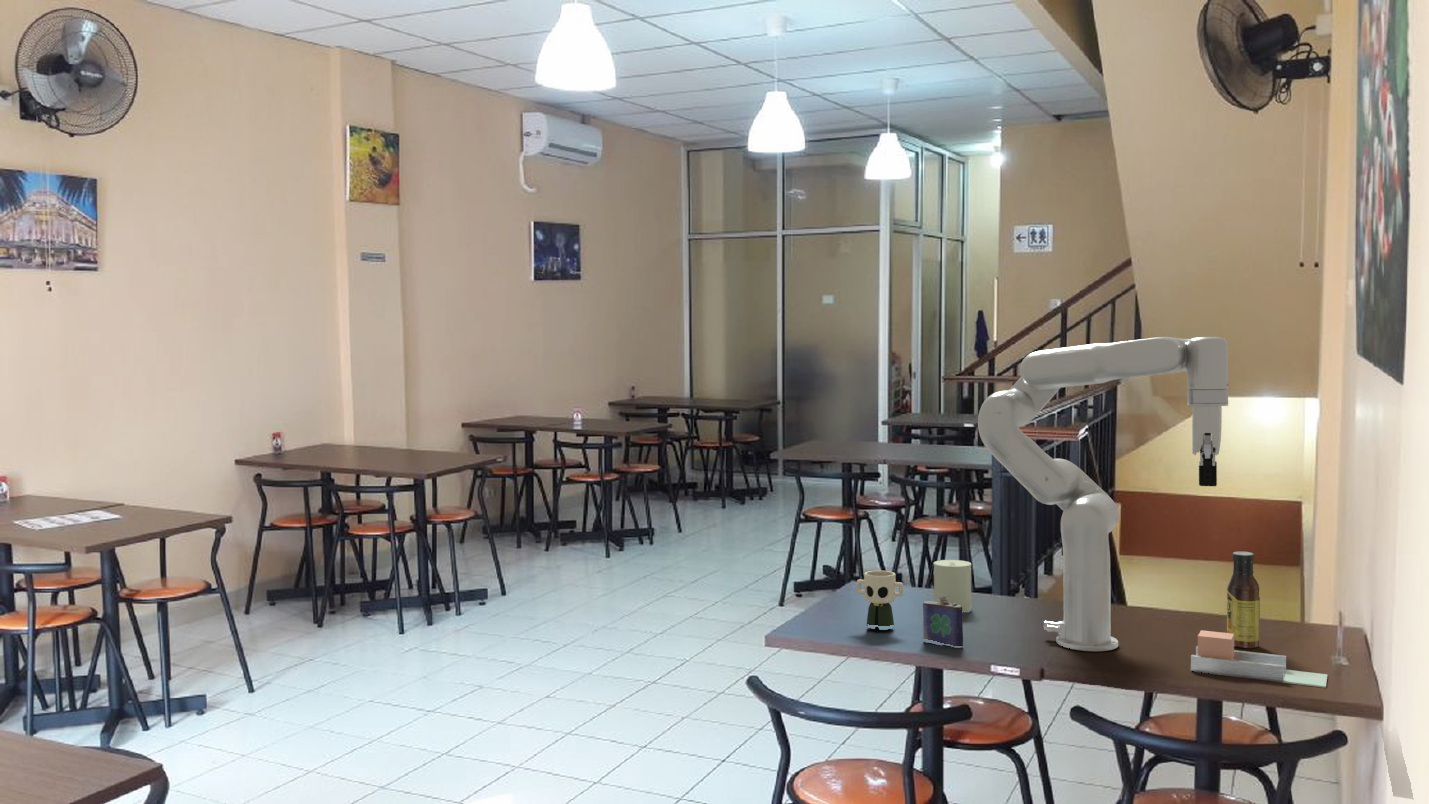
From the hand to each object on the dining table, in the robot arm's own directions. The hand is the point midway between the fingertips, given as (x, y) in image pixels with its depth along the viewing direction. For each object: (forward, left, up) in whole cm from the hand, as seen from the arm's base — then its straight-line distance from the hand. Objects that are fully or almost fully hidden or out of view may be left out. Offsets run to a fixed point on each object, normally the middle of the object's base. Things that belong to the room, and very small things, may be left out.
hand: (1207, 483), depth 221 cm
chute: (+6, -7, -36) cm, 37 cm away
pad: (+18, -7, -36) cm, 40 cm away
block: (+2, -7, -35) cm, 36 cm away
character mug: (-68, -8, -36) cm, 77 cm away
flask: (-51, -14, -36) cm, 64 cm away
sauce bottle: (+5, +14, -36) cm, 39 cm away
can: (-60, +19, -36) cm, 72 cm away
